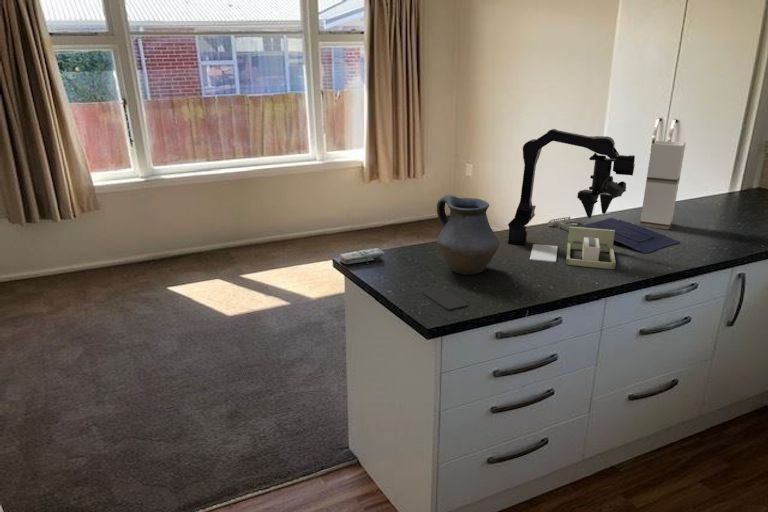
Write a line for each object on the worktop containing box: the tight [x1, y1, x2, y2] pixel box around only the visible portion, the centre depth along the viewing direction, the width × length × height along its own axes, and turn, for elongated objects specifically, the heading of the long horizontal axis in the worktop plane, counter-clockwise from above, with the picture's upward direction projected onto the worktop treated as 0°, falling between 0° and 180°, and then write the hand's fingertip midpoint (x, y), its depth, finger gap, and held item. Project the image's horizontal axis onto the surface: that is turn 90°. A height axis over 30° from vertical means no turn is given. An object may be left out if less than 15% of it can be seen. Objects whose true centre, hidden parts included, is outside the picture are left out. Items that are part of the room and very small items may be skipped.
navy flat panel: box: [582, 217, 681, 255], centre depth 228 cm, size 24×30×4 cm
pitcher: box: [436, 194, 500, 276], centre depth 191 cm, size 21×22×25 cm
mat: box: [529, 243, 559, 263], centre depth 211 cm, size 9×18×1 cm, turn 162°
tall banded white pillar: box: [639, 140, 686, 230], centre depth 242 cm, size 11×11×35 cm
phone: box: [422, 287, 468, 311], centre depth 171 cm, size 7×1×15 cm
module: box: [581, 237, 601, 261], centre depth 206 cm, size 5×12×7 cm, turn 163°
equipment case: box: [565, 227, 617, 270], centre depth 206 cm, size 16×21×8 cm
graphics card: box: [547, 216, 586, 232], centre depth 241 cm, size 17×4×12 cm
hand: (596, 215), depth 208 cm, fingers open, 9 cm apart
